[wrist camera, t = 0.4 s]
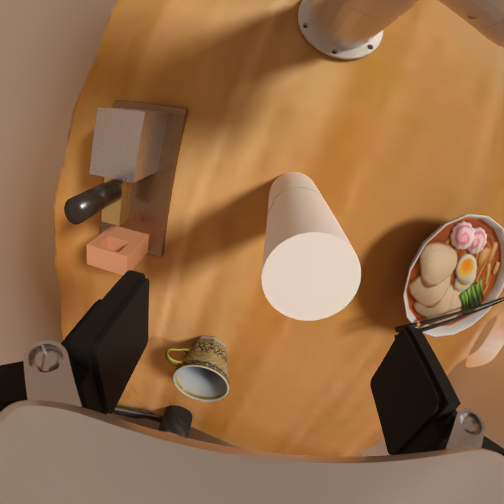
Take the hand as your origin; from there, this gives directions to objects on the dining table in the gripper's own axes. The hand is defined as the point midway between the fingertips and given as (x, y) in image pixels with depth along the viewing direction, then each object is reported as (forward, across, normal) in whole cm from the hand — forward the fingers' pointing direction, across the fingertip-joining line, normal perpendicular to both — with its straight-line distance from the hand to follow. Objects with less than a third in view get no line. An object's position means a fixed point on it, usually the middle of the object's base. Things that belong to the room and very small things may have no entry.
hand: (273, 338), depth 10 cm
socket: (+35, +21, +14) cm, 43 cm away
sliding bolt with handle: (+30, +20, +1) cm, 36 cm away
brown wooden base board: (+36, +21, +4) cm, 41 cm away
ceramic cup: (+36, +6, +34) cm, 50 cm away
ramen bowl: (+36, -33, +6) cm, 49 cm away
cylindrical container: (+36, -4, +2) cm, 36 cm away
